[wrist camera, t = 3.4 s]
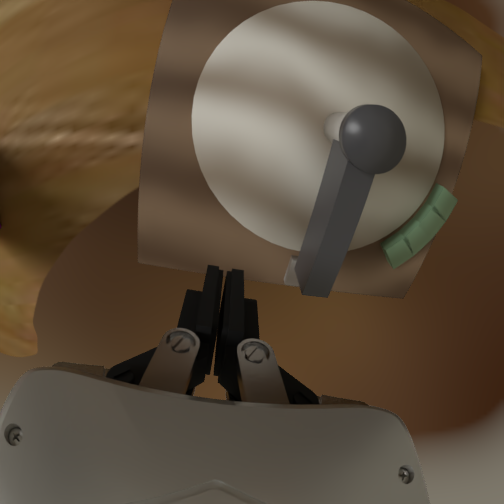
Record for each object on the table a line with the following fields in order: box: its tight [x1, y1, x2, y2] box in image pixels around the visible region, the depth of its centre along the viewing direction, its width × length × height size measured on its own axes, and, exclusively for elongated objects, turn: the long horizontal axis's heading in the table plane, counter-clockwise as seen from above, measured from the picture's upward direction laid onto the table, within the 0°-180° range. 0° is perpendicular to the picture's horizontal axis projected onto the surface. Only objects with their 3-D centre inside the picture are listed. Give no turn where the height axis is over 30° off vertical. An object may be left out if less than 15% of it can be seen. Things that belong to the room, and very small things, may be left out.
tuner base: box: [138, 0, 482, 299], centre depth 18 cm, size 27×26×4 cm
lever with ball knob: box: [294, 104, 406, 298], centre depth 16 cm, size 12×4×6 cm, turn 168°
